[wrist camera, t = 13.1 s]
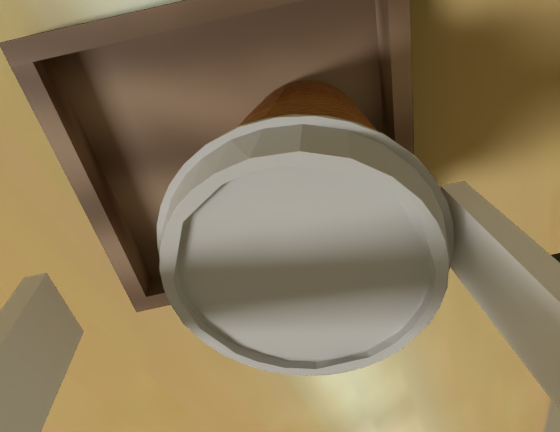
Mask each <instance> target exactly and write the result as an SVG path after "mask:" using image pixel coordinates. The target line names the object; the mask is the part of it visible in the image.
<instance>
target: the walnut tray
mask: <svg viewBox="0 0 560 432" xmlns="http://www.w3.org/2000/svg"><path fill="white" fill-rule="evenodd" d="M0 47H1V49H2V51H3V53H4V55H5V57H6V59H7V61H8V63H9V65H10V67H11V69H12V71H13V72H14V74H15V76H16V78H17V80H18V82H19V84H20V86H21V88H22V90H23V92H24V94H25V96H26V98H27V100H28V102H29V104H30V106H31V108H32V110H33V111H34V113H35V115H36V117H37V119H38V121H39V123H40V125H41V127H42V129H43V131H44V133H45V135H46V137H47V139H48V141H49V143H50V145H51V147H52V149H53V151H54V152H55V154H56V156H57V158H58V160H59V162H60V164H61V166H62V168H63V170H64V172H65V174H66V176H67V178H68V180H69V182H70V184H71V186H72V188H73V190H74V191H75V193H76V195H77V197H78V199H79V201H80V203H81V205H82V207H83V209H84V211H85V213H86V215H87V217H88V219H89V221H90V223H91V225H92V227H93V229H94V230H95V232H96V234H97V236H98V238H99V240H100V242H101V244H102V246H103V248H104V250H105V252H106V254H107V256H108V258H109V260H110V262H111V264H112V266H113V268H114V269H115V271H116V273H117V275H118V277H119V279H120V281H121V283H122V285H123V287H124V289H125V291H126V293H127V295H128V297H129V299H130V301H131V303H132V305H133V307H134V309H135V310H136V312H140V311H144V310H149V309H153V308H158V307H162V306H167V305H171V304H170V302H169V300H168V298H167V295H166V293H165V291H164V288H163V284H162V279H161V275H160V270H159V269H160V257H159V252H158V247H157V221H158V216H159V211H160V206H161V203H162V201H163V198H164V196H165V194H166V191H167V189H168V186H169V184H170V183H171V181H172V180H173V178H174V177H175V175H176V174H177V172H178V171H179V170H180V169H181V167H182V166H183V165H184V164H185V163H186V162H187V161H188V160H189V159H190V158H191V157H192V156H193V155H194V154H195V153H196V152H198V151H199V150H200V149H201V148H202V147H203V146H204V145H205V144H207V143H209V142H211V141H212V140H214V139H216V138H218V137H220V136H221V135H223V134H225V133H227V132H229V131H230V130H232V129H234V128H236V127H238V125H240V124H241V123H242V122H243V120H244V119H245V118H246V117H247V116H248V115H249V114H250V113H251V112H252V111H253V110H254V109H255V108H256V107H257V106H258V105H259V104H260V103H261V102H262V101H263V100H264V99H265V98H266V96H268V95H269V94H270V93H272V92H273V91H274V90H276V89H278V88H280V87H282V86H284V85H286V84H288V83H292V82H297V81H318V82H322V83H325V84H328V85H331V86H333V87H335V88H336V89H338V90H340V91H342V92H343V93H344V94H345V95H346V96H348V97H349V98H350V99H351V100H352V102H353V103H354V105H355V106H356V107H357V108H358V109H359V110H360V111H361V112H362V114H363V115H364V116H365V117H366V118H367V120H368V121H370V123H371V124H372V125H373V126H374V127H375V128H376V130H377V131H378V132H381V133H383V134H385V135H386V136H388V137H389V138H391V139H392V140H394V141H395V142H396V143H398V144H399V145H401V146H402V147H403V148H405V149H406V150H408V151H409V152H411V153H412V154H413V155H414V131H413V94H412V57H411V19H410V0H184V1H180V2H175V3H171V4H166V5H162V6H158V7H153V8H149V9H144V10H140V11H136V12H131V13H127V14H122V15H118V16H114V17H109V18H105V19H100V20H96V21H92V22H87V23H83V24H78V25H74V26H70V27H65V28H61V29H57V30H52V31H48V32H43V33H39V34H35V35H30V36H26V37H22V38H17V39H13V40H9V41H5V42H1V43H0Z"/></svg>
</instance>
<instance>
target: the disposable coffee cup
mask: <svg viewBox="0 0 560 432" xmlns="http://www.w3.org/2000/svg"><path fill="white" fill-rule="evenodd" d="M454 244H455V243H454V225H453V220H452V216H451V213H450V209H449V205H448V202H447V200H446V198H445V196H444V194H443V192H442V190H441V189H440V187H439V185H438V183H437V181H436V180H435V178H434V177H433V176H432V175H431V173H430V172H429V171H428V170H427V169H426V167H425V166H424V165H423V164H422V163H421V161H420V160H419V159H418V158H417V157H416V156H415V155H413V154H412V153H411V152H409V151H408V150H406V149H405V148H403V147H402V146H401V145H399V144H398V143H396V142H395V141H394V140H392V139H391V138H389V137H388V136H386V135H385V134H383V133H381V132H378V131H377V130H376V128H375V127H374V126H373V125H372V124H371V123H370V121H368V120H367V118H366V117H365V116H364V115H363V114H362V112H361V111H360V110H359V109H358V108H357V107H356V106H355V105H354V103H353V102H352V100H351V99H350V98H349V97H348V96H346V95H345V94H344V93H343V92H342V91H340V90H338V89H336V88H335V87H333V86H331V85H328V84H325V83H322V82H318V81H297V82H292V83H288V84H286V85H284V86H282V87H280V88H278V89H276V90H274V91H273V92H272V93H270V94H269V95H268V96H266V98H265V99H264V100H263V101H262V102H261V103H260V104H259V105H258V106H257V107H256V108H255V109H254V110H253V111H252V112H251V113H250V114H249V115H248V116H247V117H246V118H245V119H244V120H243V122H242V123H241V124H240V125H238V127H236V128H234V129H232V130H230V131H229V132H227V133H225V134H223V135H221V136H220V137H218V138H216V139H214V140H212V141H211V142H209V143H207V144H205V145H204V146H203V147H202V148H201V149H200V150H199V151H198V152H196V153H195V154H194V155H193V156H192V157H191V158H190V159H189V160H188V161H187V162H186V163H185V164H184V165H183V166H182V167H181V169H180V170H179V171H178V172H177V174H176V175H175V177H174V178H173V180H172V181H171V183H170V184H169V186H168V189H167V191H166V194H165V196H164V198H163V201H162V203H161V206H160V211H159V216H158V221H157V247H158V252H159V257H160V269H159V270H160V275H161V279H162V284H163V288H164V291H165V293H166V295H167V298H168V300H169V302H170V304H171V306H172V307H173V309H174V310H175V312H176V313H177V315H178V316H179V318H180V319H181V321H182V322H183V324H184V325H185V326H187V327H188V328H189V329H190V330H191V331H192V332H193V333H194V334H195V335H196V336H197V337H198V338H199V339H201V340H202V341H203V342H204V343H205V344H207V345H209V346H210V347H212V348H213V349H215V350H216V351H218V352H219V353H221V354H222V355H224V356H226V357H229V358H231V359H233V360H235V361H238V362H240V363H242V364H244V365H247V366H251V367H254V368H257V369H261V370H264V371H268V372H273V373H279V374H287V375H299V376H318V375H331V374H338V373H344V372H348V371H352V370H356V369H360V368H364V367H366V366H369V365H371V364H374V363H376V362H379V361H381V360H384V359H385V358H387V357H389V356H391V355H392V354H394V353H396V352H398V351H399V350H401V349H403V348H404V347H405V346H406V345H407V344H408V343H409V342H410V341H412V340H413V339H414V338H415V337H416V336H417V335H418V334H419V333H420V332H421V331H422V330H423V329H424V328H425V327H426V326H428V325H429V323H430V322H431V320H432V319H433V317H434V315H435V314H436V312H437V311H438V309H439V308H440V305H441V302H442V300H443V297H444V295H445V292H446V290H447V285H448V272H449V269H450V265H451V260H452V255H453V249H454Z"/></svg>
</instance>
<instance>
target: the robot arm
mask: <svg viewBox="0 0 560 432" xmlns="http://www.w3.org/2000/svg"><path fill="white" fill-rule="evenodd" d="M441 190H442V192H443V194H444V196H445V198H446V200H447V202H448V205H449V209H450V213H451V216H452V220H453V225H454V243H455V244H454V249H453V255H452V260H451V265H450V267H451V269H452V270H453V271H454V273H455V274H456V275H457V277H458V278H459V279H460V280H461V282H462V283H463V284H464V286H465V287H466V288H467V290H468V291H469V292H470V294H471V295H472V296H473V297H474V299H475V300H476V301H477V303H478V304H479V305H480V307H481V308H482V309H483V311H484V312H485V313H486V315H487V316H488V317H489V318H490V320H491V321H492V322H493V324H494V325H495V326H496V328H497V329H498V330H499V332H500V333H501V334H502V336H503V337H504V338H505V339H506V341H507V342H508V343H509V345H510V346H511V347H512V349H513V350H514V351H515V353H516V354H517V355H518V357H519V358H520V359H521V360H522V362H523V363H524V364H525V366H526V367H527V368H528V370H529V371H530V372H531V374H532V375H533V376H534V378H535V379H536V380H537V381H538V383H539V384H540V385H541V387H542V388H543V389H544V391H545V392H546V393H547V395H548V396H549V397H550V398H551V400H552V401H553V402H554V404H555V405H556V406H557V408H558V409H559V410H560V253H558V254H553V255H550V254H549V253H548V252H546V251H545V250H544V249H543V248H542V247H541V246H540V245H538V244H537V243H536V242H535V241H534V240H533V239H531V238H530V237H529V236H528V235H527V234H526V233H524V232H523V231H522V230H521V229H520V228H519V227H517V226H516V225H515V224H514V223H513V222H512V221H510V220H509V219H508V218H507V217H506V216H505V215H503V214H502V213H501V212H500V211H499V210H498V209H496V208H495V207H494V206H493V205H492V204H491V203H489V202H488V201H487V200H486V199H485V198H484V197H482V196H481V195H480V194H479V193H478V192H477V191H476V190H474V189H473V188H472V187H471V186H470V185H469V184H467V183H466V182H465V181H461V182H456V183H452V184H447V185H443V186H441ZM83 332H84V331H83V330H82V328H81V326H80V325H79V323H78V322H77V320H76V318H75V317H74V315H73V314H72V312H71V311H70V309H69V307H68V306H67V304H66V303H65V301H64V299H63V298H62V296H61V295H60V293H59V292H58V290H57V288H56V287H55V285H54V284H53V282H52V281H51V279H50V277H49V276H48V274H47V273H44V274H39V275H35V276H30V277H26V278H23V280H22V281H21V283H20V284H19V286H18V287H17V288H16V290H15V291H14V293H13V294H12V295H11V297H10V298H9V300H8V301H7V302H6V304H5V305H4V307H3V308H2V310H1V311H0V432H41V430H42V428H43V425H44V423H45V421H46V418H47V416H48V414H49V411H50V409H51V407H52V404H53V402H54V400H55V397H56V395H57V393H58V390H59V388H60V386H61V383H62V381H63V379H64V376H65V374H66V372H67V369H68V367H69V365H70V362H71V360H72V358H73V355H74V353H75V351H76V348H77V346H78V344H79V341H80V339H81V337H82V334H83Z"/></svg>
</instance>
